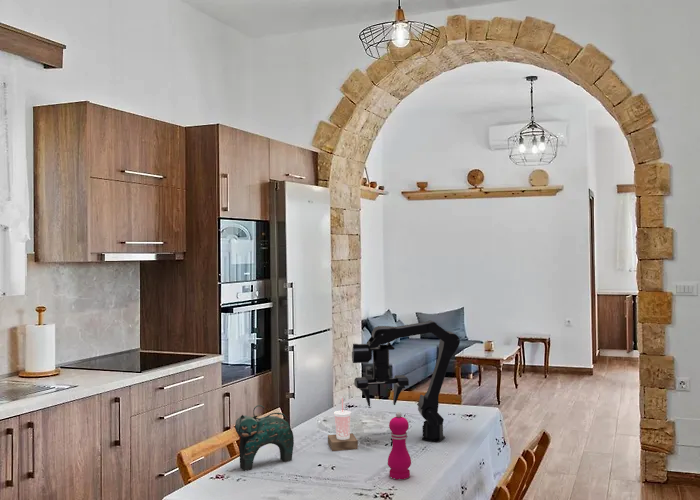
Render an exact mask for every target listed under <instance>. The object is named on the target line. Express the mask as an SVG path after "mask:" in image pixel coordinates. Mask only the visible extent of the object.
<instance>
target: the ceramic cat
mask: <svg viewBox="0 0 700 500" xmlns="http://www.w3.org/2000/svg"><path fill="white" fill-rule="evenodd" d="M258 407H261V408H263V409H265V406H264V405H261V404H258V405H256V406H254V408H253V414H252V415H253V416H250V415H243V414H241V416H239V417H238V418H237V420H236V421H235V426H234V428H235V433H237V434H238V436H240V439H239V450H238V451H239V468H240V469H241V470H242V471H244V472H246V471H245V470H247V471H250V470H251V471H252V470H253V465H254V460H255V458H256V455H257V453H258V451H259V450H260V448H262V447H264V446H266V445H270V444H271V445H275V446H277V448H278V449H279V450H278V451H279V459H280V461H282V462H284V463H286V462H290V461H293V454H294V453H293V451H294V444H295V443H294V442H295V440H294V438H295V437H294V433H293V430H292V428H291V426H290V424H289V423H290V422H289V419H288V417H287V416H286V415H285V414H284V413H282V412H272V413H270V414H268V415H266V416H263V417H258V415H255V409H257V408H258ZM275 415H277V416H275ZM278 415H282V416H283V417H285V418H286V420H285V419H284V418H282V417H279V416H278Z"/></svg>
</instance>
